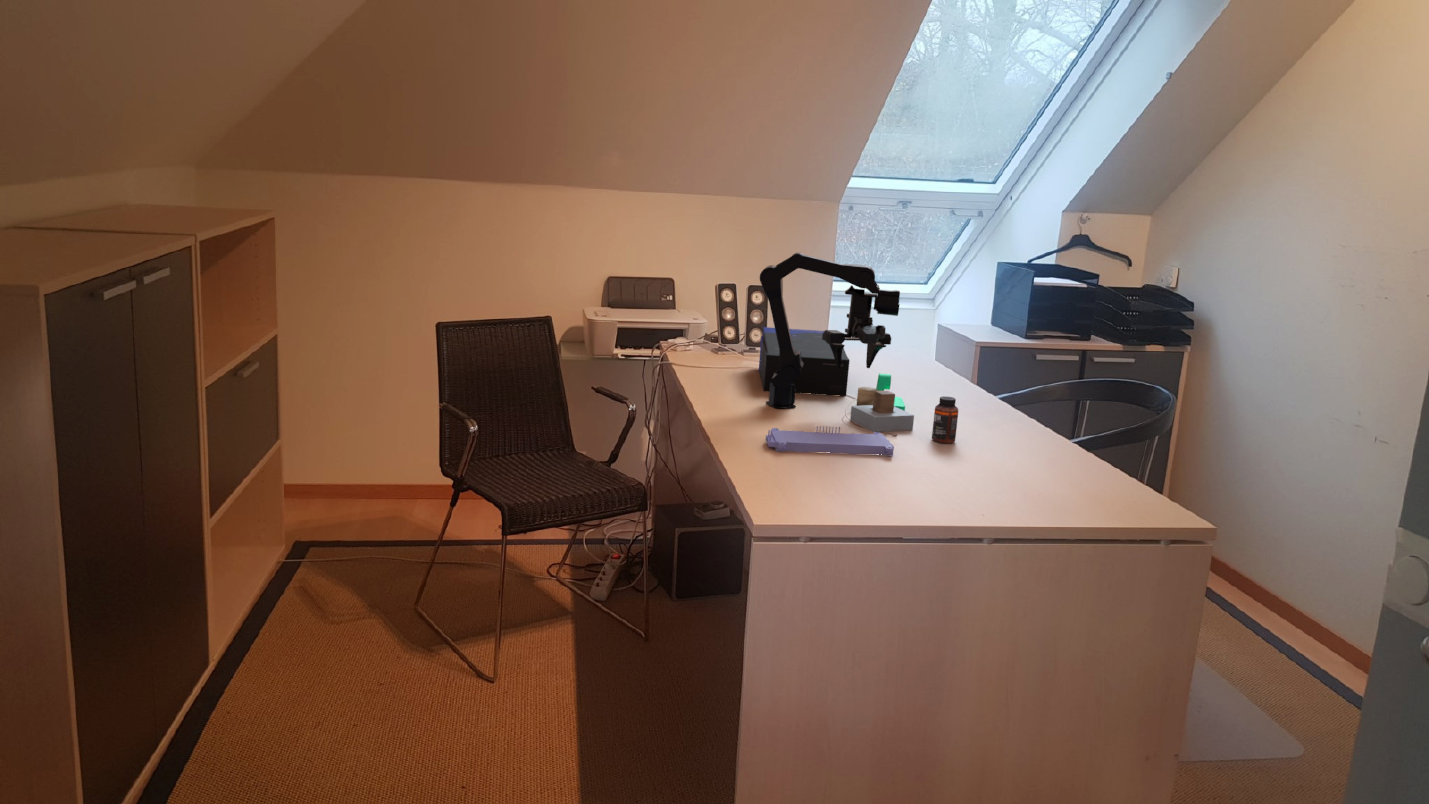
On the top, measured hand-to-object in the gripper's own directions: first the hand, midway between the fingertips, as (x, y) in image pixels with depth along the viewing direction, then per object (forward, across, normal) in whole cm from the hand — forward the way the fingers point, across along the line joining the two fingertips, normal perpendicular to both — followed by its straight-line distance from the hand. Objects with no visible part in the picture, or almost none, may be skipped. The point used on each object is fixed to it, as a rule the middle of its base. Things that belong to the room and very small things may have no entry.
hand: (853, 368), depth 290 cm
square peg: (+12, +2, -14) cm, 19 cm away
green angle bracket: (+13, +14, +2) cm, 19 cm away
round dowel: (+13, +7, +2) cm, 14 cm away
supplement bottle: (+12, +11, -31) cm, 35 cm away
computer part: (+13, -23, -32) cm, 41 cm away
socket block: (+12, +2, -14) cm, 19 cm away
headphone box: (+13, +4, +39) cm, 41 cm away
